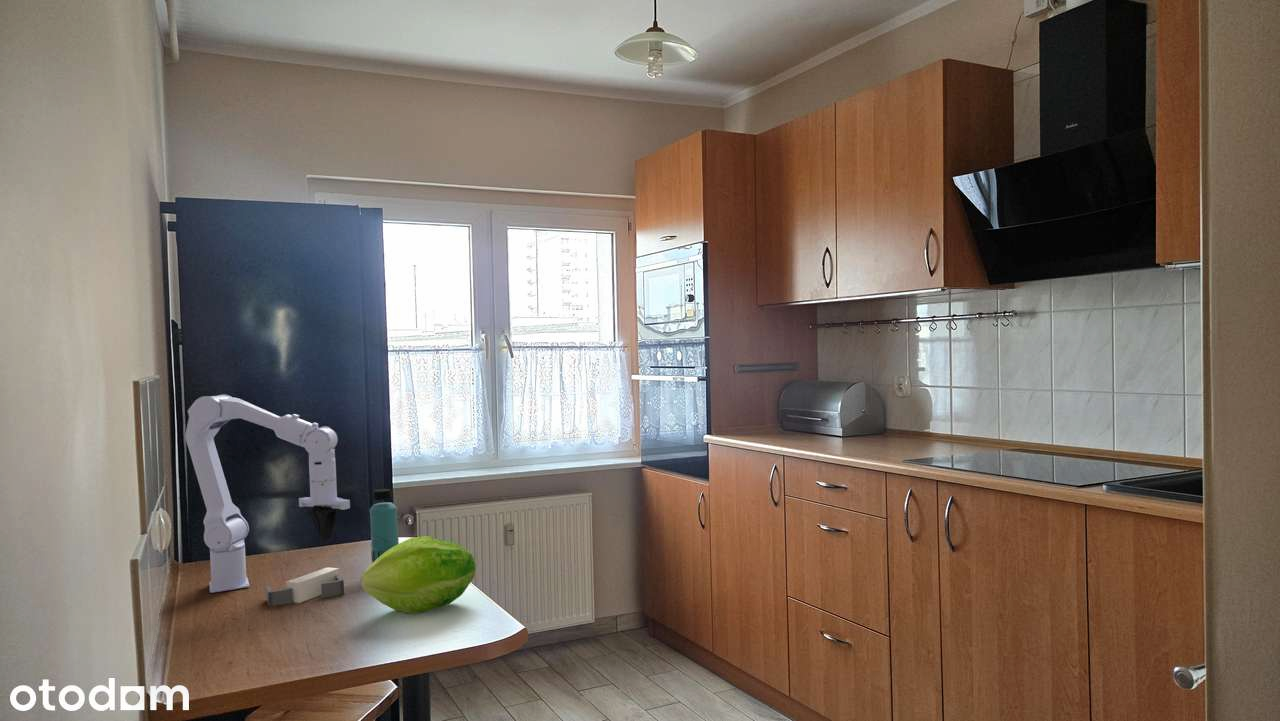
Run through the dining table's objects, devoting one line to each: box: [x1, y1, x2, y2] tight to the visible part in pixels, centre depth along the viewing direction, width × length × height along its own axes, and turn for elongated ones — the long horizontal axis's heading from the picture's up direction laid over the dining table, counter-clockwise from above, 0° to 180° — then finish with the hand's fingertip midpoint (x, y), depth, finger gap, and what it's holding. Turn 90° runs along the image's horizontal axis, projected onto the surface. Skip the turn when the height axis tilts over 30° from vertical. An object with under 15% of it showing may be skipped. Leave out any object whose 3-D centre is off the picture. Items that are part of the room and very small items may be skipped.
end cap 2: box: [321, 574, 345, 599], centre depth 182 cm, size 6×4×3 cm
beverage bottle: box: [369, 488, 400, 564], centre depth 197 cm, size 6×7×20 cm
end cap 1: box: [265, 585, 293, 608], centre depth 177 cm, size 6×4×3 cm
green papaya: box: [360, 535, 477, 614], centre depth 167 cm, size 15×23×16 cm
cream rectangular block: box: [285, 566, 340, 604], centre depth 182 cm, size 4×12×4 cm, turn 158°
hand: (325, 539), depth 192 cm, fingers closed
